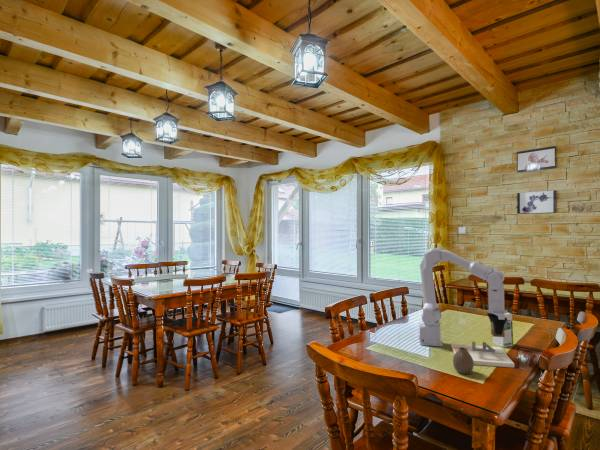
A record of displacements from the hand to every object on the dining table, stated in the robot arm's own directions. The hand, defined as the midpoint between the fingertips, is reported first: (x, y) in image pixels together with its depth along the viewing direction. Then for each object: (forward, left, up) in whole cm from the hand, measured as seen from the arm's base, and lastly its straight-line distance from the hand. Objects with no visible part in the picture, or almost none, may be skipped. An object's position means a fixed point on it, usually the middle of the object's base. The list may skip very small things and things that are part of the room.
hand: (497, 332), depth 141 cm
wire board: (-7, -3, -9) cm, 12 cm away
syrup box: (+6, +14, -10) cm, 18 cm away
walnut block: (0, 0, -1) cm, 1 cm away
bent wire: (-7, -4, -8) cm, 11 cm away
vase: (-16, -20, -10) cm, 28 cm away
